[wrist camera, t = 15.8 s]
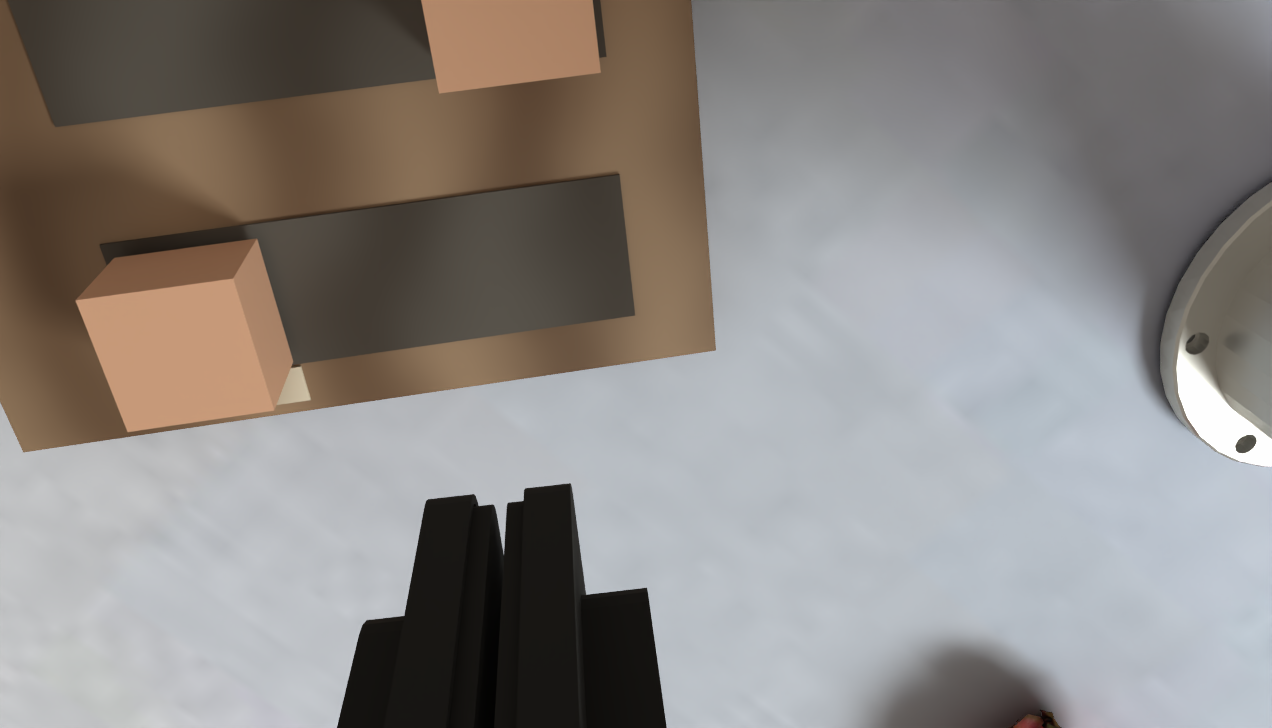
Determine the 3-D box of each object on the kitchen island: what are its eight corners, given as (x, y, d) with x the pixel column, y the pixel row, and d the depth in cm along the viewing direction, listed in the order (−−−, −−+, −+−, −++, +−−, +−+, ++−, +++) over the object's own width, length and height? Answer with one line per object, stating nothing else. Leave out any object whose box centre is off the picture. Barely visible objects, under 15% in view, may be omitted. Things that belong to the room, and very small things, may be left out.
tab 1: (256, 238, 29) (233, 278, 26) (293, 361, 31) (274, 410, 28) (114, 258, 29) (75, 300, 26) (159, 380, 30) (127, 432, 28)
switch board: (664, -209, 27) (677, -212, 25) (704, 324, 35) (716, 351, 33) (-185, -114, 26) (-238, -111, 24) (48, 419, 33) (22, 454, 31)
